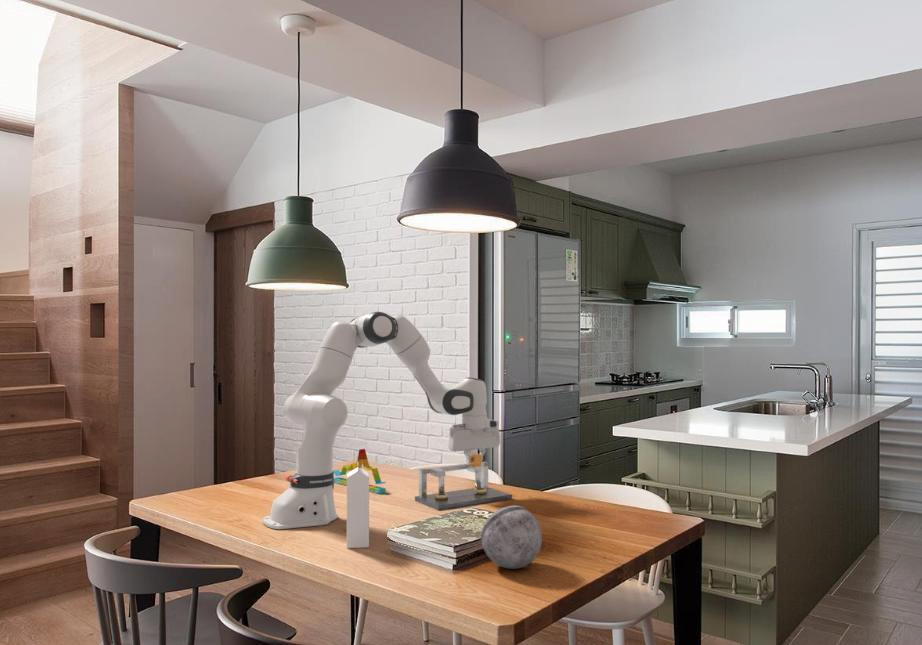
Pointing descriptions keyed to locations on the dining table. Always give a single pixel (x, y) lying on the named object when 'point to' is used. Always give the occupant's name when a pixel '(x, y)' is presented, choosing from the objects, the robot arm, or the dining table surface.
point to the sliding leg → (476, 468)
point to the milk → (357, 509)
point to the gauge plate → (460, 496)
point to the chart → (361, 459)
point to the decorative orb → (511, 537)
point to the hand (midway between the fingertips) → (474, 461)
